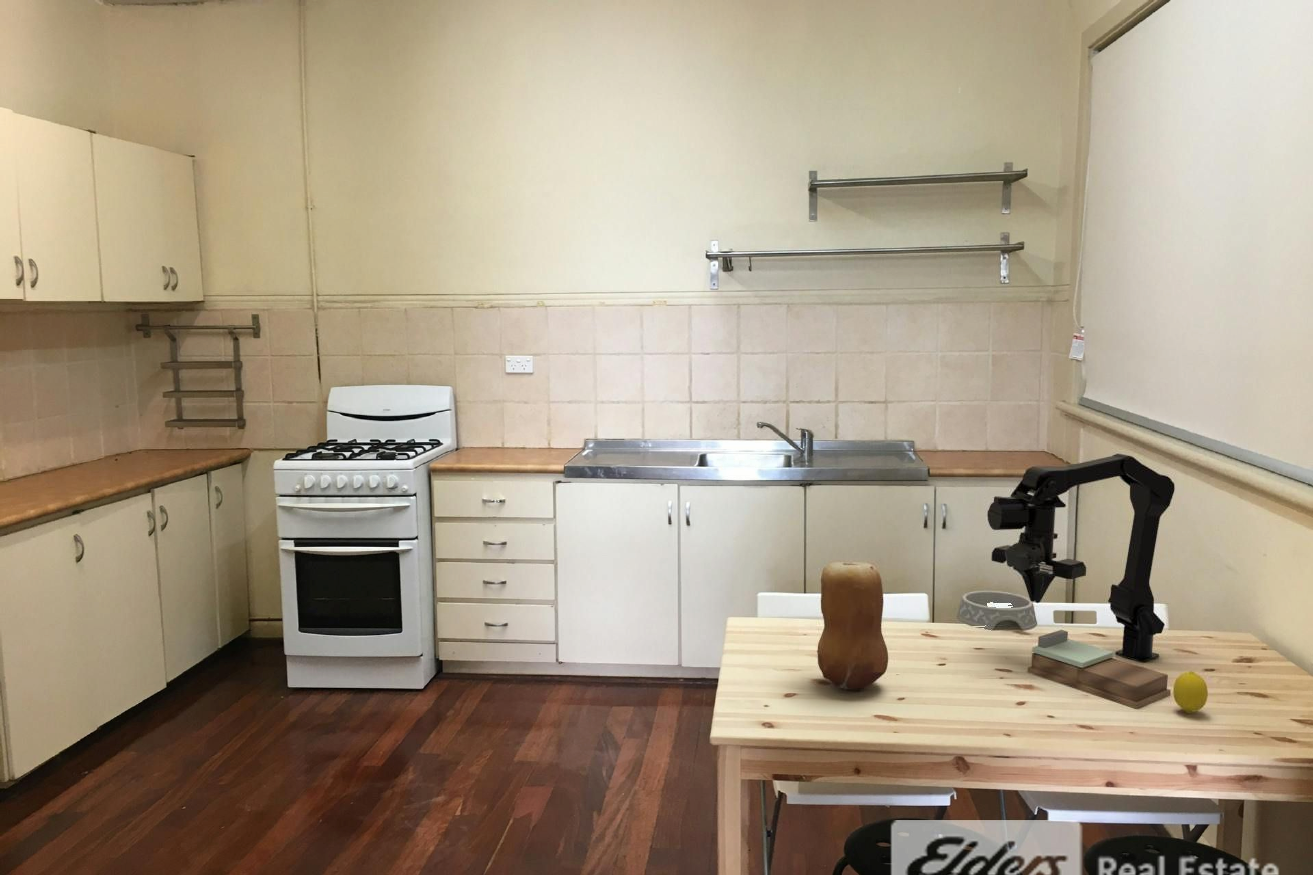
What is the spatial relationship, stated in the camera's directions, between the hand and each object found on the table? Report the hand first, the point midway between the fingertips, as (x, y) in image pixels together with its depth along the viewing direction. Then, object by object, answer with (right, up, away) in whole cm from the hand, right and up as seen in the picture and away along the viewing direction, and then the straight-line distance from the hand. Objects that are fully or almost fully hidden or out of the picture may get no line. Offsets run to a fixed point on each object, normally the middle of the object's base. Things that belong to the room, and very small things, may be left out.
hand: (1035, 601), depth 207 cm
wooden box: (+8, -14, -10) cm, 19 cm away
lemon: (+19, -17, -25) cm, 35 cm away
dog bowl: (+2, -10, +31) cm, 32 cm away
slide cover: (+5, -10, -6) cm, 13 cm away
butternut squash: (-41, -15, -13) cm, 46 cm away
